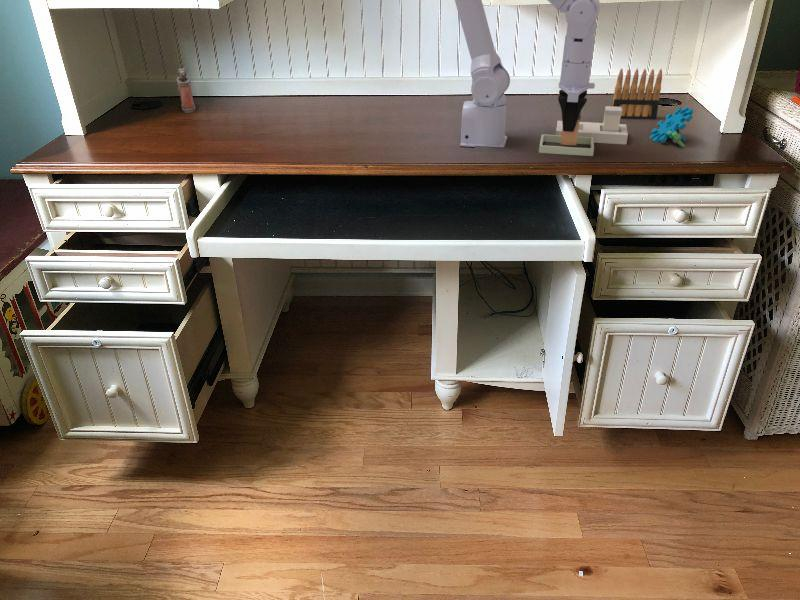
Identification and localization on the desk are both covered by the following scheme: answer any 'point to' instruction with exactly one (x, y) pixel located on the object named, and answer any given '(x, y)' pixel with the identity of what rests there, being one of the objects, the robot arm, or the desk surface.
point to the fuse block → (599, 132)
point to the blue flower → (672, 126)
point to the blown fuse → (570, 135)
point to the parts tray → (566, 149)
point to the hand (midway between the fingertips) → (568, 128)
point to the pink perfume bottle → (185, 91)
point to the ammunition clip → (640, 98)
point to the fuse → (612, 118)
